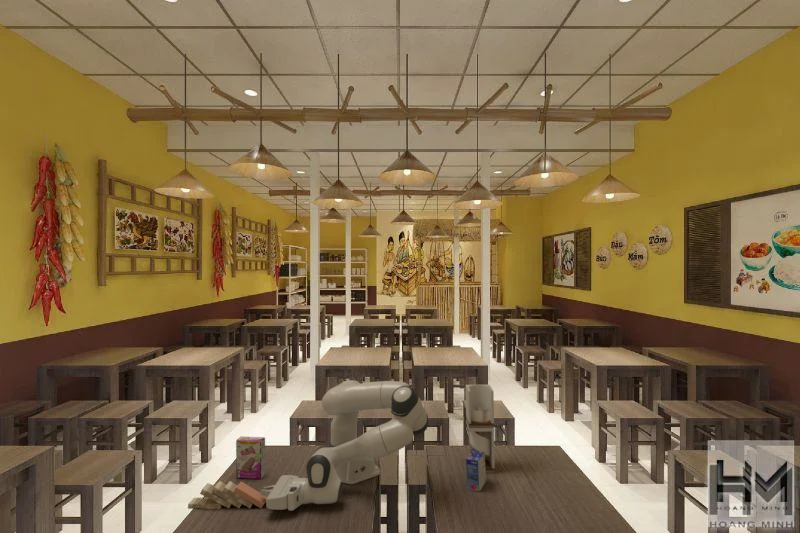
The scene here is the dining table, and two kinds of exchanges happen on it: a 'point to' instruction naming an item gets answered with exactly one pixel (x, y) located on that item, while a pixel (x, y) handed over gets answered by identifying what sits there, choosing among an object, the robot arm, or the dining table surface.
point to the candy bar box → (250, 457)
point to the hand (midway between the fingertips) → (261, 490)
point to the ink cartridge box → (475, 470)
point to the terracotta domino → (250, 494)
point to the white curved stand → (481, 422)
